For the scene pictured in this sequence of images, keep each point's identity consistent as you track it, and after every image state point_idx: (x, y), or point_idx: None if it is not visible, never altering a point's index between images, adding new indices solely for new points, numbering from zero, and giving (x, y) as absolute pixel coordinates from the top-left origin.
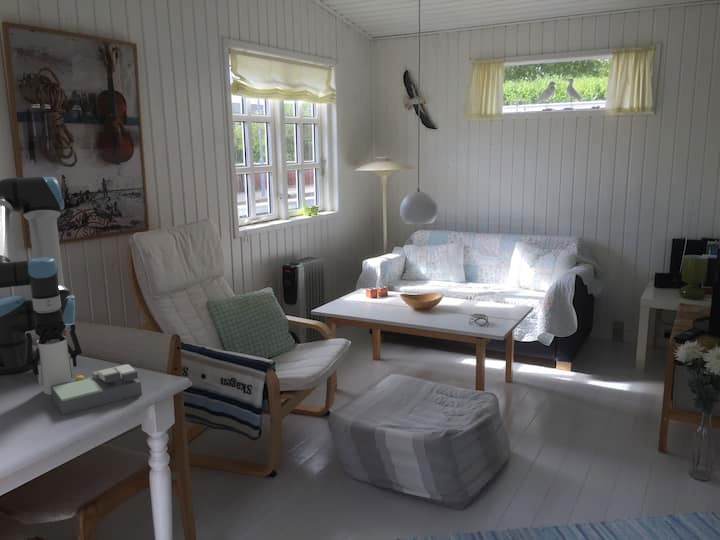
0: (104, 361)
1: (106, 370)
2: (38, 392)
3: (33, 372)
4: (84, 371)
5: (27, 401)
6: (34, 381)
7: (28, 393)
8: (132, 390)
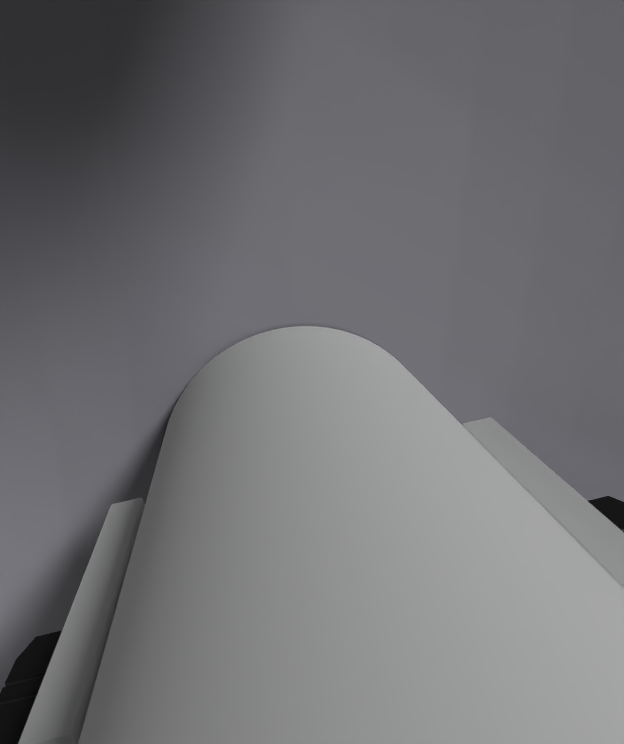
0: None
1: None
2: (117, 458)
3: (16, 680)
4: (617, 25)
5: (36, 628)
6: (29, 69)
7: (15, 443)
8: None
